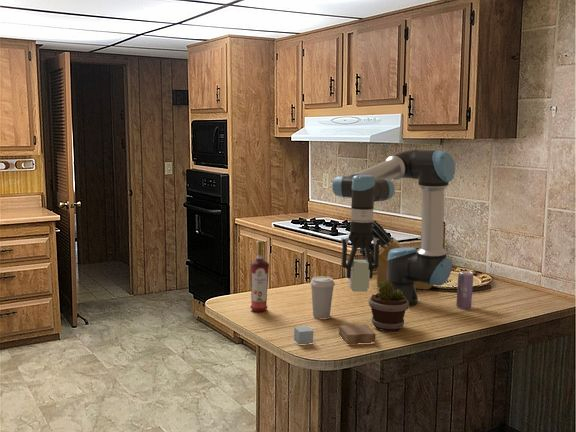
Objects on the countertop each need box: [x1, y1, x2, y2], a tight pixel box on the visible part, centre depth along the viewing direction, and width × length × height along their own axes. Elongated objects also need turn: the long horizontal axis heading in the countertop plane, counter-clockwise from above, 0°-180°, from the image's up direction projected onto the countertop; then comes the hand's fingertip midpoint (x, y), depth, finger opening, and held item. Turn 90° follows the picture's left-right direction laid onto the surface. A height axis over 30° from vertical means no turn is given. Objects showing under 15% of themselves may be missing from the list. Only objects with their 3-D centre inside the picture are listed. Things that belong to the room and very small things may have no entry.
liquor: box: [249, 239, 270, 312], centre depth 249 cm, size 7×7×28 cm
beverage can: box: [455, 270, 474, 311], centre depth 261 cm, size 6×6×15 cm
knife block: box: [359, 219, 434, 291], centre depth 292 cm, size 11×35×31 cm, turn 82°
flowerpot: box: [368, 278, 409, 332], centre depth 233 cm, size 14×15×20 cm
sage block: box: [351, 259, 369, 293], centre depth 217 cm, size 5×5×10 cm
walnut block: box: [338, 323, 376, 344], centre depth 220 cm, size 10×10×4 cm
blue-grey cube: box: [293, 325, 314, 345], centre depth 215 cm, size 5×5×5 cm
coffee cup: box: [309, 275, 336, 319], centre depth 244 cm, size 10×10×15 cm
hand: (358, 287), depth 217 cm, fingers closed on sage block, 5 cm apart
